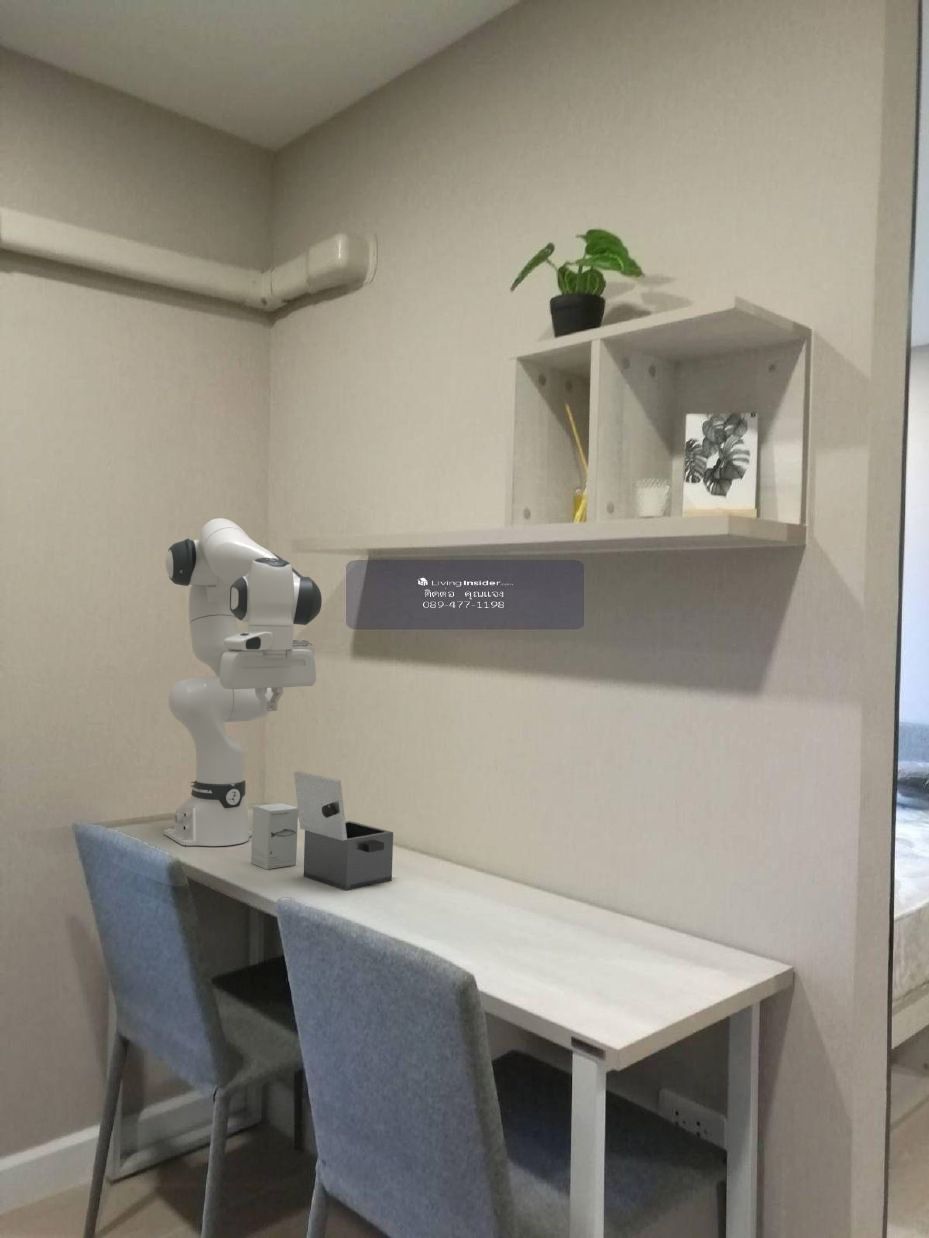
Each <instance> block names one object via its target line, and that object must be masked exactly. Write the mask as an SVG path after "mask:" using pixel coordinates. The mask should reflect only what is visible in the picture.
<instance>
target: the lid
mask: <svg viewBox="0 0 929 1238" xmlns="http://www.w3.org/2000/svg"><path fill="white" fill-rule="evenodd" d="M293 776H294V785H295V795H296V801H297V808H298V821H299V822H298V823H299V829H300V830H304V831H305V830H307V831H310V832H314V833H317V834H321V835H324V836H328V837H331V838H335V839H339V840H342V841H344V840H346V839H347V834H346V825H345V822H346V818H345V809H344V799H343V790H342V782H341V779H338V778H337V779H335V778H331V777H327V776H321V775H317V774H312V773H308V772H303V771H300V770H299V771H298V770H297V771H295V772H293Z"/></svg>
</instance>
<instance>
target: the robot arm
mask: <svg viewBox="0 0 929 1238" xmlns="http://www.w3.org/2000/svg"><path fill="white" fill-rule="evenodd" d="M165 569H166V573H167V574H168V577H169V579H170V581H172V583H173V584H175V585H178V586H183V587H185V586H186V587H189V586H190V589H189V595H188V620H189V629H190V637H191V646H192V653H193V655H194V656H195V658H196V659H197V660H198V661H199V662H200V663H203V664H205V665H207V666H208V667H209V668H210V669H211V670H212V671H213V673H214V674H215V676H194V677H191V678H189V677H188V678H185V679H181V680H177V681H176V683H174V685H173V686H172V688H171V690H170V692H169V696H168V707H169V711H170V713H171V715H173V717H174V719H175V720H177V721H178V722H179V723H181V724H182V725H183V726H184V727H185V728H186V729H187V731H188V732H189V735H190V736H191V738H192V740H193V744H194V747H195V757H196V759H195V761H196V762H195V763H196V764H195V765H196V769H195V770H196V772H195V774H196V775H195V776H196V777H195V780H194V781H190V783H191V784H192V785H190V787H191V793H190V794H191V796H190V797H188V799H187V800H186V801H184V803H183V804H181V805H180V806H179V807H178V808H177V809H176V811H175V814H174V816H173V817H174V818H173V821H174V823H173V824H174V825H173V827H168V828H166V829H164V832H163V835H165V836H166V837H169V838H170V839H171V840H173V841H174V842H176V843H178V844H180V845H181V846H185V845H186V847H187V846H188V847H189V846H199V847H200V846H201V847H202V846H203V847H225V846H233V845H238V844H239V845H240V844H243V843H246V842H247V841H249V840H250V837H251V838H252V829H250V816H249V815H250V813H249V812H250V811H249V803H248V801H247V800H246V798H245V796H246V789H247V784H246V780H245V755H246V754H245V752H246V751H245V750H244V747H243V746H242V744H241V743H240V742H239V741H238V740H236V739H234V738H232V737H230V736H228V735H227V733H226V728H225V723H234V722H235V723H236V722H251V721H253V720H259V719H261V718H264V717H265V718H266V716H268V715H269V713H270V712H275V711H276V712H277V710H278V708H279V707H278V705H279V702H280V699H281V697H282V696H283V694H284V688H293V687H294V688H296V687H297V688H298V687H312V686H314V684H315V683H316V681H317V671H316V661H315V660H316V659H315V647H314V645H313V643H311V642H310V641H308V640H306V639H305V640H304V639H303V640H296V639H295V640H294V625H301V626H307V625H309V624H310V623H311V622H312V621H313V620H315V618H317V616H318V615H319V614H320V612H321V609H322V601H323V600H322V593H321V590H320V587H319V586H318V584H317V583H316V582H315V581H314V580H313V579H312V578H311V577H310V576H303V575H302V574H300V573H299V572H298V571H297V570H296V569H295V568H294V567H292V564H291V562H289V561H288V560H285V559H283V558H282V557H280V556H279V555H278V554H275V553H273V552H272V551H270V550H269V549H267V548H265V547H263V546H261V545H260V544H258V543H257V542H256V541H254V540H253V539H251V538H250V536H249V535H248V534H247V532H245V530H244V529H243V528H241V526H239V525H238V524H236V523H235V522H234V521H232V520H230V519H227V518H223V517H218V518H214V519H211V520H209V521H208V522H206V523H205V524H204V525H203V526H202V528H201V530H200V532H199V539H190V538H186V539H184V540H182V541H178V542H175V543H173V544H172V545H171V546H170V547H169V548H168V549H167V554H166V557H165ZM237 619H238V620H239V621H243V622H246V623H247V630H244V631H243V632H240V633H239V630H238V629H239V628H238V623H237Z"/></svg>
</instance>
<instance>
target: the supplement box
mask: <svg viewBox="0 0 929 1238" xmlns="http://www.w3.org/2000/svg"><path fill="white" fill-rule="evenodd" d="M298 821H299V813H298V806H297V807H296V806H295V805H294V806H293V805H289V804H287V803H283V802H279V803H270V804H269V803H268V804H259V805H253V806H252V829H251V830H252V836H251V853H250V855H251V858H250V863H251V864H253V865H255V866H257V867H260V868H262V869H264V870H266V871H268V870H271V869H276V868H283V867H292V866H293V867H295V866H296V865H297V851H298V825H299V824H298V823H299V822H298Z"/></svg>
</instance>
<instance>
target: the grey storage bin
mask: <svg viewBox="0 0 929 1238" xmlns="http://www.w3.org/2000/svg"><path fill="white" fill-rule="evenodd" d="M345 825H346V834H347V839H346V840H344V841H342V840H339V839H335V838H331V837H328V836H324V835H321V834H317V833H314V832H310V831H307V830H304V845H303V846H304V847H303V848H304V850H303V851H304V852H303V877H304V878H306V879H310V880H313V881H316V882H320V883H322V884H325V885H329V886H330V887H331V886H332V887H334V888H337V889H339V890H343V891H346V892H347V891H352V890H356V889H361V888H365V887H369V886H373V885H378V884H383V883H387V882H391V881H392V880H393V852H394V850H393V849H394V831H390V830H387V829H383V828H378V827H375V826H371V825H367V824H363V823H359V822H355V821H352V820H348V821H345Z"/></svg>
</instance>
